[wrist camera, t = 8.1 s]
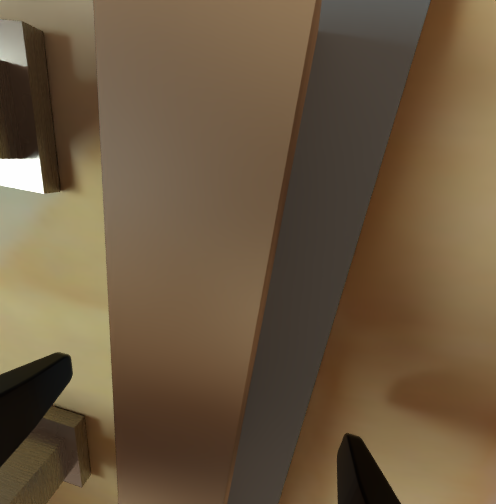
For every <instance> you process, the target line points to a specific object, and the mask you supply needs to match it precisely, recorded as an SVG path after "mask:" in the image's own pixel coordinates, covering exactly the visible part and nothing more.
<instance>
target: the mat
mask: <svg viewBox="0 0 496 504" xmlns="http://www.w3.org/2000/svg"><path fill="white" fill-rule="evenodd" d="M430 1H431V0H322V3H321V11H320V20H319V28H318V35H317V40H316V45H315V50H314V55H313V61H312V66H311V71H310V76H309V81H308V87H307V92H306V97H305V102H304V107H303V113H302V118H301V123H300V128H299V133H298V139H297V144H296V149H295V154H294V159H293V165H292V170H291V175H290V180H289V185H288V191H287V196H286V201H285V206H284V211H283V217H282V222H281V227H280V232H279V237H278V243H277V248H276V253H275V258H274V263H273V269H272V274H271V279H270V284H269V289H268V295H267V300H266V305H265V310H264V315H263V321H262V326H261V331H260V336H259V341H258V347H257V352H256V357H255V362H254V367H253V372H252V378H251V383H250V388H249V393H248V398H247V404H246V409H245V414H244V419H243V424H242V430H241V435H240V440H239V445H238V450H237V456H236V461H235V466H234V471H233V476H232V482H231V487H230V492H229V497H228V502H227V504H278V503H279V500H280V496H281V493H282V490H283V486H284V483H285V480H286V477H287V473H288V470H289V467H290V463H291V460H292V457H293V453H294V450H295V447H296V443H297V440H298V437H299V434H300V430H301V427H302V424H303V420H304V417H305V414H306V410H307V407H308V404H309V401H310V397H311V394H312V391H313V387H314V384H315V381H316V377H317V374H318V371H319V367H320V364H321V361H322V358H323V354H324V351H325V348H326V344H327V341H328V338H329V334H330V331H331V328H332V325H333V321H334V318H335V315H336V311H337V308H338V305H339V301H340V298H341V295H342V292H343V288H344V285H345V282H346V278H347V275H348V272H349V268H350V265H351V262H352V258H353V255H354V252H355V249H356V245H357V242H358V239H359V235H360V232H361V229H362V225H363V222H364V219H365V216H366V212H367V209H368V206H369V202H370V199H371V196H372V192H373V189H374V186H375V182H376V179H377V176H378V173H379V169H380V166H381V163H382V159H383V156H384V153H385V149H386V146H387V143H388V140H389V136H390V133H391V130H392V126H393V123H394V120H395V116H396V113H397V110H398V107H399V103H400V100H401V97H402V93H403V90H404V87H405V83H406V80H407V77H408V73H409V70H410V67H411V64H412V60H413V57H414V54H415V50H416V47H417V44H418V40H419V37H420V34H421V31H422V27H423V24H424V21H425V17H426V14H427V11H428V7H429V4H430Z"/></svg>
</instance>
